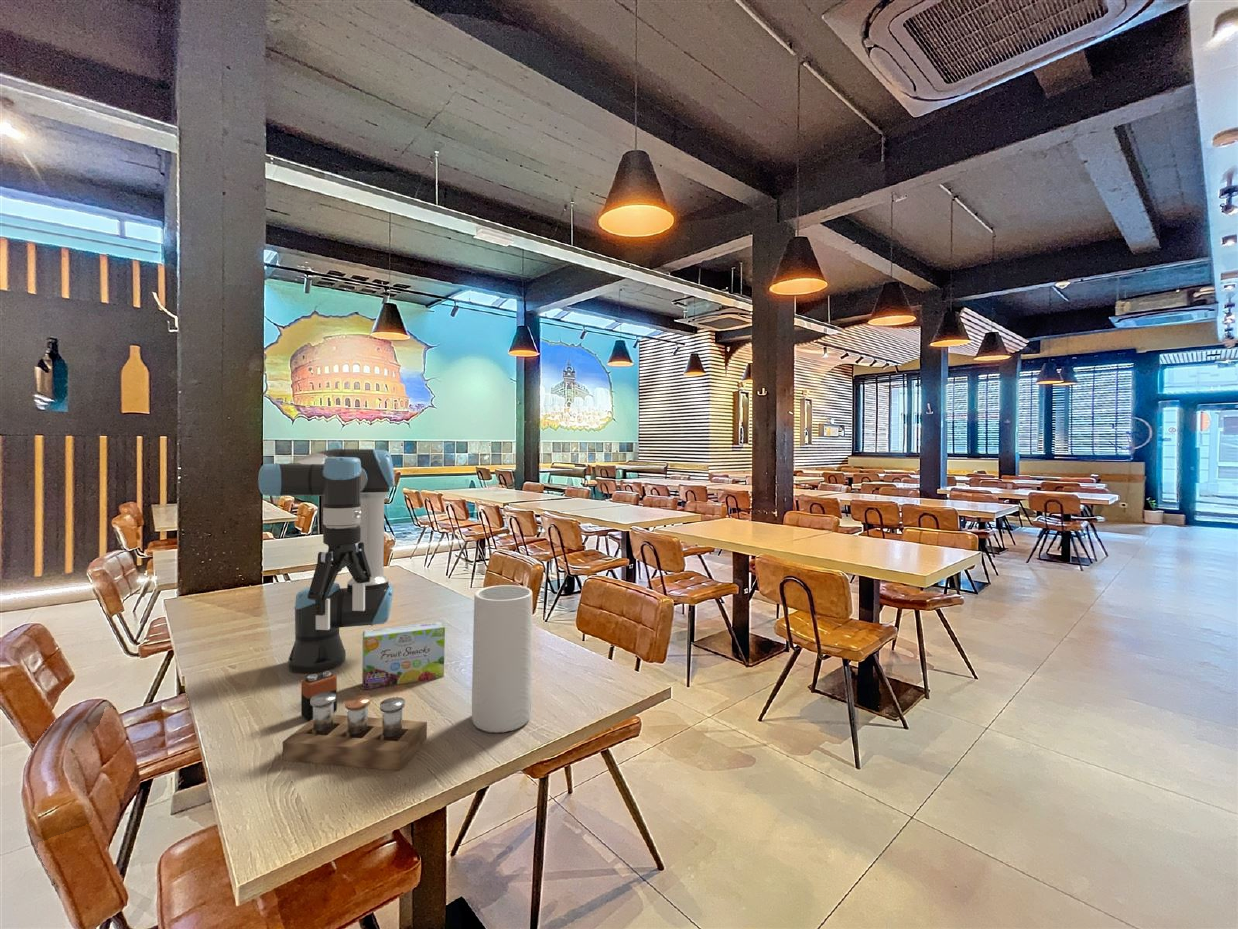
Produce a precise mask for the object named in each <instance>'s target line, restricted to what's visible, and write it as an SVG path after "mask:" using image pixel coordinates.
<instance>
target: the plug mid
mask: <svg viewBox="0 0 1238 929" xmlns="http://www.w3.org/2000/svg"><path fill="white" fill-rule="evenodd" d="M370 704H371V697H370V695H368V694H356V695H353V696H349V697H348V698H346V700H345V701H344V708H345V709H347V715H346V716H347V732H348V733H350V734H358V733H362V732H364V731H365V730H367V728H368V716H369V712H368V710H369V705H370Z"/></svg>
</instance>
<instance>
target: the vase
mask: <svg viewBox="0 0 1238 929" xmlns="http://www.w3.org/2000/svg"><path fill="white" fill-rule="evenodd" d="M473 595H474V597H473V599H474V601H473V603H474V604H473V631H472V632H473V635H472V636H473V637H472V638H473V640H472V673H471V674H472V677H471V679H472V680H471V682H472V683H471V721H472V723H473V725H474V726H475V727H476V728H478V729H480V730H482V731H484V732H487V733H493V732H494V734H497V733H498V732H499V733H498V734H501V733H500V732H502V733H508V731H509V732H511V731H515V730H517V729H520V728H521V727H523V726H525V725H526V724H527V723H528V722H529V721H530V719H531V715H532V699H533V697H532V696H533V694H532V693H533V591H532V589H531V588H529V587H527V586H523V585H515V584H514V585H513V584H504V585H503V584H500V585H492V586H491V585H490V586H486V587H483V588H480V589H478V590H476V591H475V592H474V594H473Z"/></svg>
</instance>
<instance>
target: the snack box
mask: <svg viewBox="0 0 1238 929" xmlns="http://www.w3.org/2000/svg"><path fill="white" fill-rule="evenodd" d="M445 638H446V626H444V624H443V623H442V621H437V622H426V623H419V624H412V625H402V626H401V625H400V626H393V627H386V628H377V629H369V630H363V631H362V662H361V663H362V671H361V672H362V674H361V676H362V677H361V678H362V690H363V691H367V690H371V689H378V688H384V687H390V686H397V685H402V684H408V683H416V682H420V681H421V682H423V681H428V680H434V679H435V680H436V679H439V678H444V677H445V648H446V647H445V646H446V645H445V643H446V642H445V641H446V640H445Z"/></svg>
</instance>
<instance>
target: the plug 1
mask: <svg viewBox="0 0 1238 929" xmlns="http://www.w3.org/2000/svg"><path fill="white" fill-rule="evenodd" d="M335 701H336V694H335V693H332V692H325V693H320V694H317V695H315V696H313V697H312V698H311V699H310V705H311V706H313V730H315V731H324V730H327V729H330V728H331V727H332V726H333V725H334V715H335V714H334V713H335V712H334V702H335Z"/></svg>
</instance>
